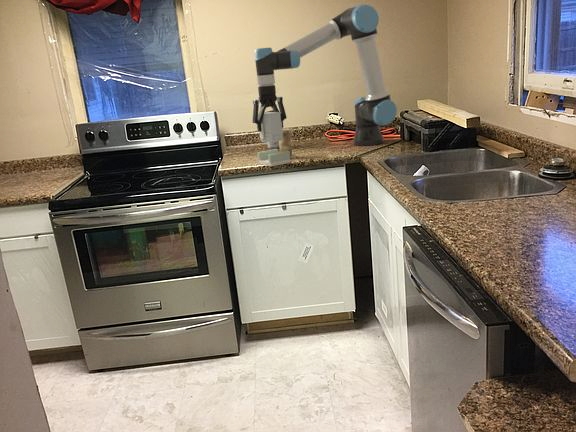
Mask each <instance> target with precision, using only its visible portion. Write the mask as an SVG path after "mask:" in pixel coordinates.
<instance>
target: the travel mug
mask: <svg viewBox="0 0 576 432" xmlns="http://www.w3.org/2000/svg"><path fill="white" fill-rule="evenodd" d="M267 112H274V111H273V109H272V110H267V111H265V112H264V113H267ZM266 143H267V149H268V150H273V149H278V150H279V149H280V147H279V141H277V142H273V143H268V142H266Z"/></svg>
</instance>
